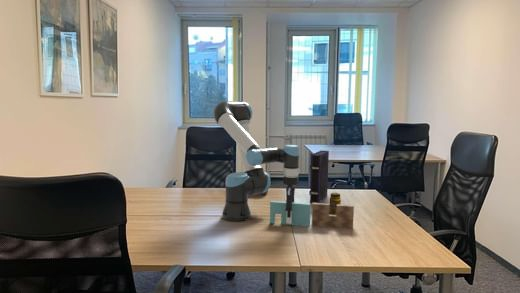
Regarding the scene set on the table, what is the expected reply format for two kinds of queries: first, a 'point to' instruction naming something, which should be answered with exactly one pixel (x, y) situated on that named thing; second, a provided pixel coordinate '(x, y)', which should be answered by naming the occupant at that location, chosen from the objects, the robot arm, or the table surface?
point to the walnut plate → (332, 216)
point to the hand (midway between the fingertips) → (289, 221)
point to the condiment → (334, 203)
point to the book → (319, 176)
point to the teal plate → (298, 213)
